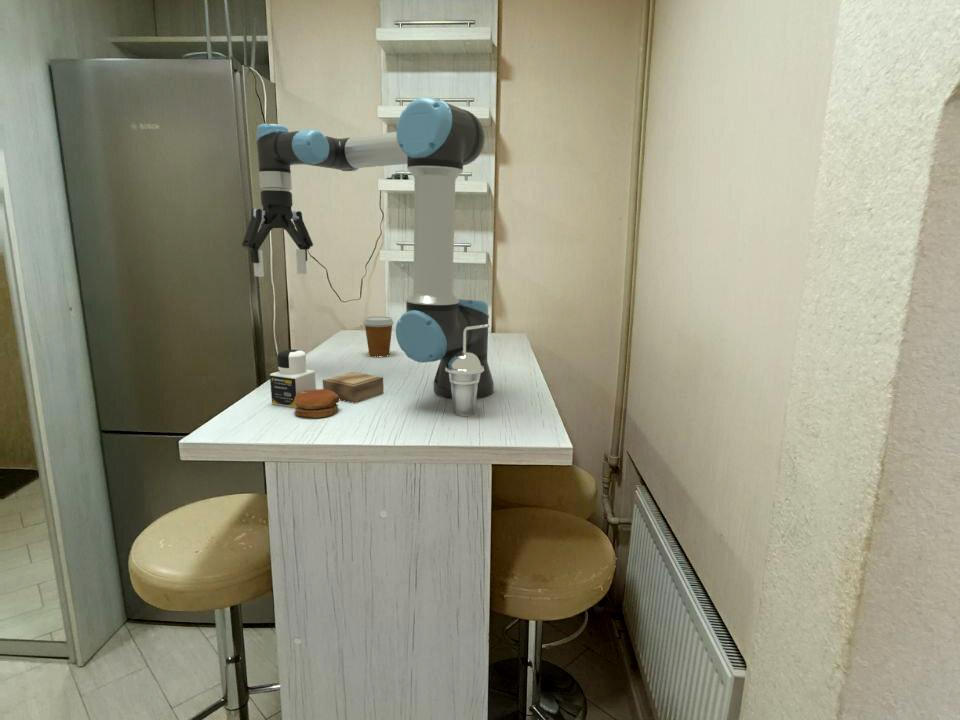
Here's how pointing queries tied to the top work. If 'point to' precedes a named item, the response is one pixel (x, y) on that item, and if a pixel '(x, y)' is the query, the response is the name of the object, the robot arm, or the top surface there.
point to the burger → (316, 403)
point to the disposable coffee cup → (378, 335)
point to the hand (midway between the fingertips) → (281, 275)
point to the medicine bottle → (291, 378)
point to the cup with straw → (465, 377)
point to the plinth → (354, 386)
